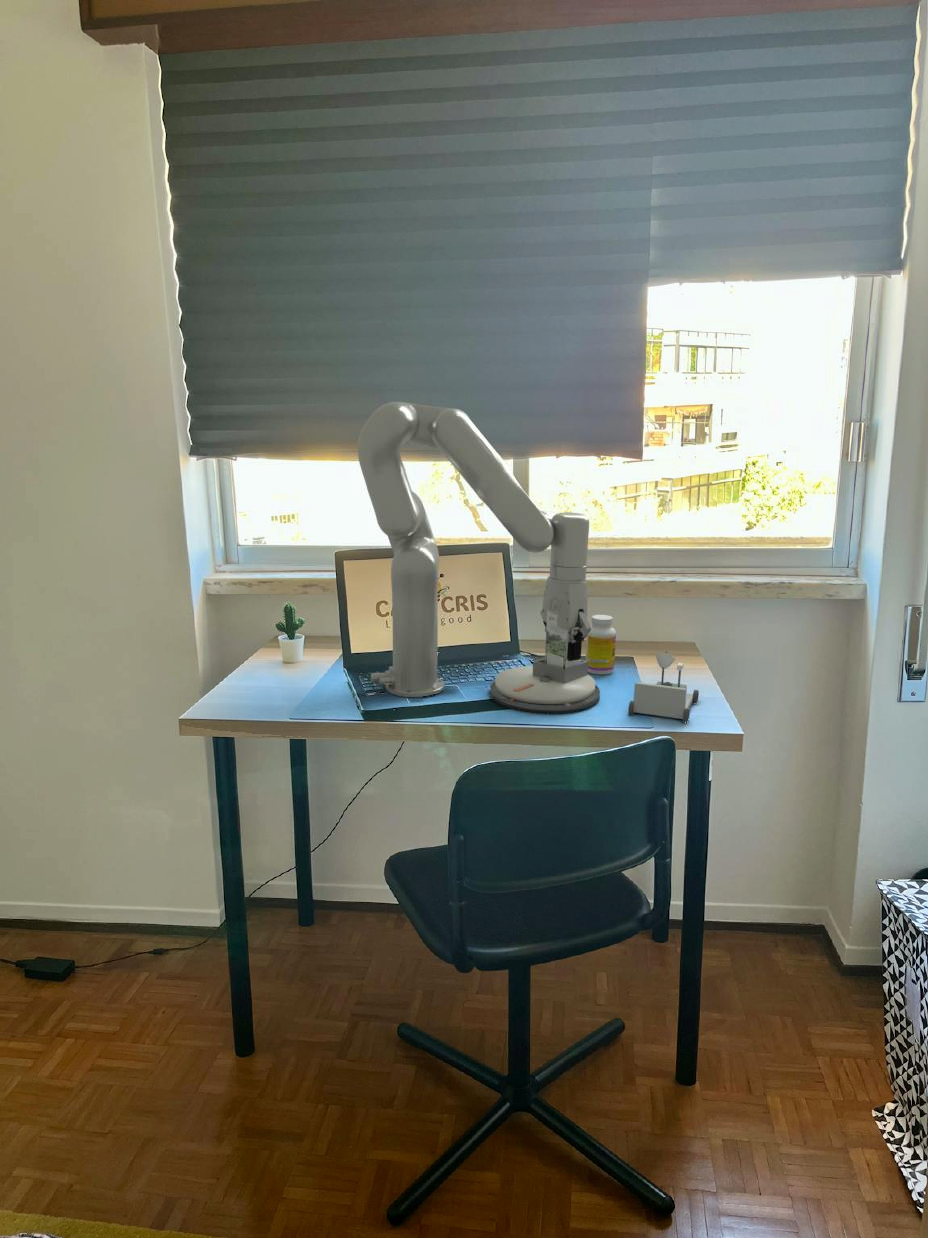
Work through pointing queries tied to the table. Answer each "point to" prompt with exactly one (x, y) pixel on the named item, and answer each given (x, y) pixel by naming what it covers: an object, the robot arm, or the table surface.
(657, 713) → the toy vehicle
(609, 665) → the supplement bottle
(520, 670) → the dial
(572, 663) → the syrup box
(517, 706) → the base
